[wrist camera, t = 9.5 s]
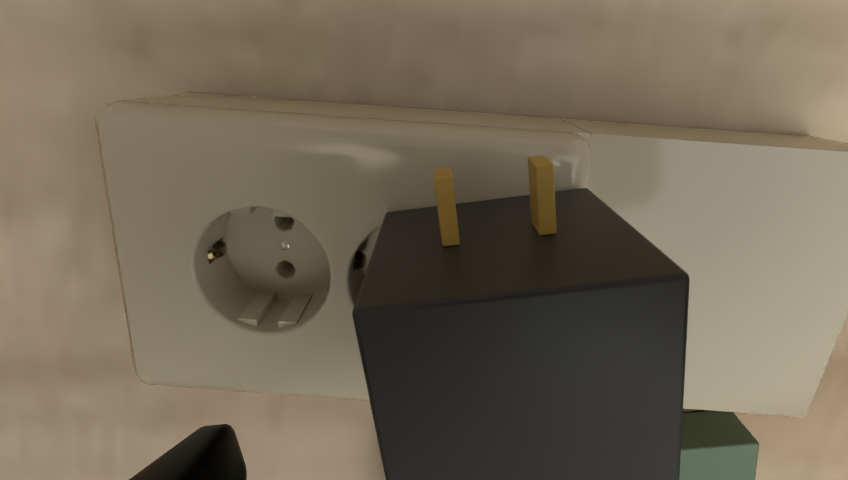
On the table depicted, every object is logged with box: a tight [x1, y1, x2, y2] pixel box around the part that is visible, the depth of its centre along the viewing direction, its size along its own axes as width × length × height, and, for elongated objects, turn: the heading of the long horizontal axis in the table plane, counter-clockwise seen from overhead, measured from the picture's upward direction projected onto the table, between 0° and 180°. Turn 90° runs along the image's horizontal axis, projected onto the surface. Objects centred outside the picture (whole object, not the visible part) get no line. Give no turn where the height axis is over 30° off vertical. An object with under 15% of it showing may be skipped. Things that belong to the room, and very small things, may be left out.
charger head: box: [352, 155, 690, 480], centre depth 9 cm, size 4×6×5 cm
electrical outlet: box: [95, 92, 848, 417], centre depth 13 cm, size 7×4×18 cm
